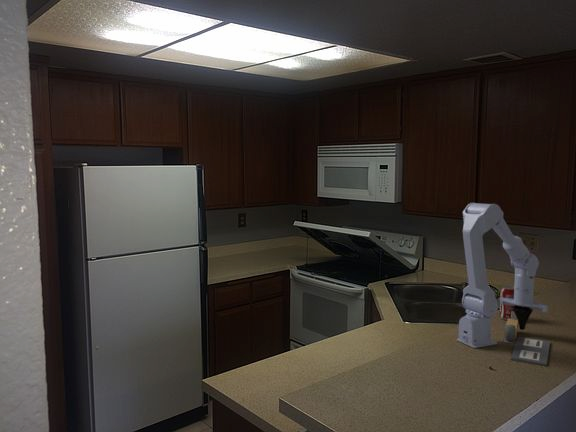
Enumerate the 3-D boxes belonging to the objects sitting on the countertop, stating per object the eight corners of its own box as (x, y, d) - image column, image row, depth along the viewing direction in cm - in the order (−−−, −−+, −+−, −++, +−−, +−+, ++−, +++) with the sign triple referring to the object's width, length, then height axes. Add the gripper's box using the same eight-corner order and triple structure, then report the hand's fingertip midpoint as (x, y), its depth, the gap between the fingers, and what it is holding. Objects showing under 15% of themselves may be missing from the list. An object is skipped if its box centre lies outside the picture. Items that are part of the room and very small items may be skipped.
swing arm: (515, 341, 150) (515, 327, 150) (504, 340, 151) (504, 326, 151) (517, 329, 162) (518, 316, 162) (507, 328, 164) (508, 315, 163)
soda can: (523, 321, 173) (524, 289, 172) (504, 321, 173) (505, 289, 172) (514, 316, 180) (515, 285, 179) (496, 316, 180) (497, 285, 179)
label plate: (546, 366, 132) (546, 363, 132) (495, 357, 138) (495, 354, 138) (550, 343, 151) (550, 340, 151) (505, 336, 157) (505, 333, 157)
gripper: (551, 290, 155) (550, 331, 156) (506, 283, 166) (504, 321, 167) (544, 293, 150) (542, 336, 151) (497, 286, 161) (496, 326, 162)
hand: (522, 328), depth 159 cm, fingers closed
